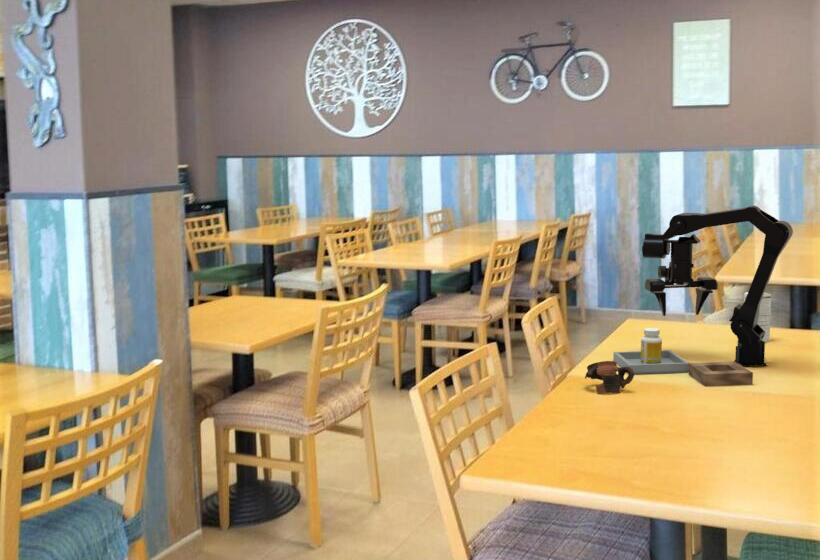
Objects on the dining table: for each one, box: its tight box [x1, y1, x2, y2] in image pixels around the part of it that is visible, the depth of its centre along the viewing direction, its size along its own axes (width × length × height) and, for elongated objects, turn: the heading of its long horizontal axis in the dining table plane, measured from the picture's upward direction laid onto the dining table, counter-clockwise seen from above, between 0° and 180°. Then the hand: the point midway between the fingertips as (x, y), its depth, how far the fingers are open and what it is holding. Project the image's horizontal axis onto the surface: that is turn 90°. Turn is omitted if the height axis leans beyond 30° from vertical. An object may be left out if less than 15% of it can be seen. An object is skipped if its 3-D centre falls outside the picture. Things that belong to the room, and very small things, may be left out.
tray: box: [612, 349, 690, 376], centre depth 262 cm, size 16×16×2 cm
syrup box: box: [743, 291, 772, 343], centre depth 290 cm, size 6×6×14 cm
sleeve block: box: [688, 361, 754, 387], centre depth 247 cm, size 12×12×3 cm
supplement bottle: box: [640, 327, 663, 364], centre depth 261 cm, size 5×5×10 cm
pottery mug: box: [584, 360, 635, 395], centre depth 240 cm, size 12×10×8 cm
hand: (680, 315), depth 270 cm, fingers open, 9 cm apart
